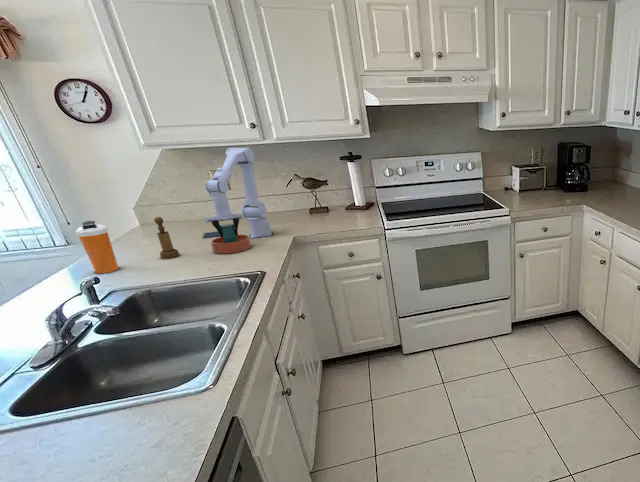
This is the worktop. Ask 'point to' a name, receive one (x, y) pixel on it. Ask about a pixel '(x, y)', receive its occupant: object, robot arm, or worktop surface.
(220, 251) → the terracotta bowl
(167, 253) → the wooden pepper mill
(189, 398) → the worktop surface
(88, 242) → the shaker bottle
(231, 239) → the teal cup
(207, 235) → the slate coaster
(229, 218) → the robot arm
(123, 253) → the worktop surface
